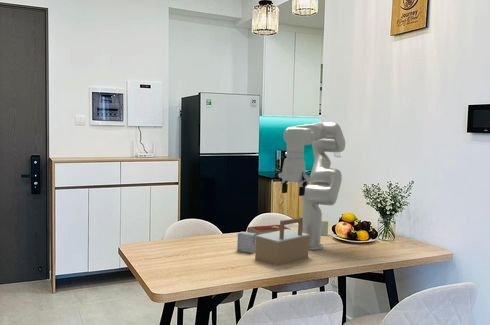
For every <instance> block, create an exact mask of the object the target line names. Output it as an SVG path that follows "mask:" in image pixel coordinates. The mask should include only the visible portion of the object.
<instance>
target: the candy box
mask: <svg viewBox="0 0 490 325" xmlns="http://www.w3.org/2000/svg"><path fill="white" fill-rule="evenodd" d="M328 232H329V221H328V220H321V236H322V235H324V237H325V236H328Z"/></svg>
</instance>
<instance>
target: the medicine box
mask: <svg viewBox="0 0 490 325" xmlns="http://www.w3.org/2000/svg"><path fill="white" fill-rule="evenodd" d="M236 244H237V246H236V247H237V248H236V251H237V252H243V253H248V254H249V253H250V254H254V252H256V234H255V233H248V232H247V231H240V232H238V233H237V243H236Z"/></svg>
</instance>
